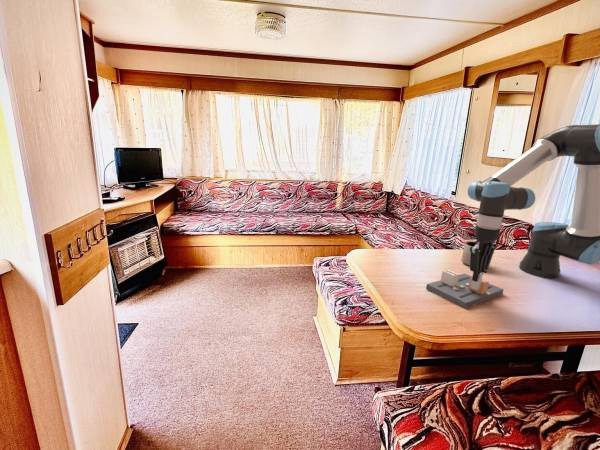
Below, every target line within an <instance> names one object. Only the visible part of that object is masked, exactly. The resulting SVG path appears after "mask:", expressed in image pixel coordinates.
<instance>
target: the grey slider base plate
mask: <svg viewBox="0 0 600 450" xmlns="http://www.w3.org/2000/svg"><path fill="white" fill-rule="evenodd" d="M472 276H473V275H470V274H467V273H465V272H464V273H462V274H459V277H458V282H457V285H456V286H453V287H452V286H450V285H447V284H445V283H443V282H441V279H440V280H437V281H433V282H429V283H426V286H425V287H426V290H428V291H429V290H430V292H432V293H434V294H435V295H438V296H440V297H441V298H444V299H445V300H448V301H450V302H452V303H453V304H456V305H457V306H460V307H462V308H464V309H467V308H469V307H471V306H474V305H478V304H480V303H483V302H485V301H488V300H491V299H493V298H496V297H499V296H501V295H503V293H504V288H501V287H499V286H496V285H494V284H491V283H490V282H489V283H488V288H487V292H486V293H485V294H482V295H481V294H479V293H477V292H475V291H472V290H470V289H469V285H470V280H471V278H472Z"/></svg>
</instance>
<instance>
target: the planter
mask: <svg viewBox="0 0 600 450" xmlns="http://www.w3.org/2000/svg"><path fill="white" fill-rule="evenodd" d="M475 243H476V241H474V240H473V241H472V240H471V241H465V242H464V246H463V250H462V255H461V259H460V260H461V263H463V265H466V266H468V267H470V257H471V252H470V247H474V246H475Z"/></svg>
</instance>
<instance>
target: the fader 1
mask: <svg viewBox="0 0 600 450" xmlns="http://www.w3.org/2000/svg"><path fill="white" fill-rule="evenodd" d="M459 275H460V274H459V273H457V272H454V271H452V270H449V269H444V270H442V271H441V276H440V277H441V278H440V280H441V282H443V283H445V284H447V285H450V286H452V287H453V286H456V285H457V282H458V277H459Z"/></svg>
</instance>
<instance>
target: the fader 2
mask: <svg viewBox="0 0 600 450" xmlns="http://www.w3.org/2000/svg"><path fill="white" fill-rule="evenodd" d="M471 281H472V278H471V280H470V285H469V289H470V290H472V291H475V292H477V293H479V294H481V295H482V294H485V293H486V292H487V288H488V283H489V284H490V282H489V281H488V280H486V279H483V278H482V281H481V286H480V290H475V289H473V288H470V286H471Z"/></svg>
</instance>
